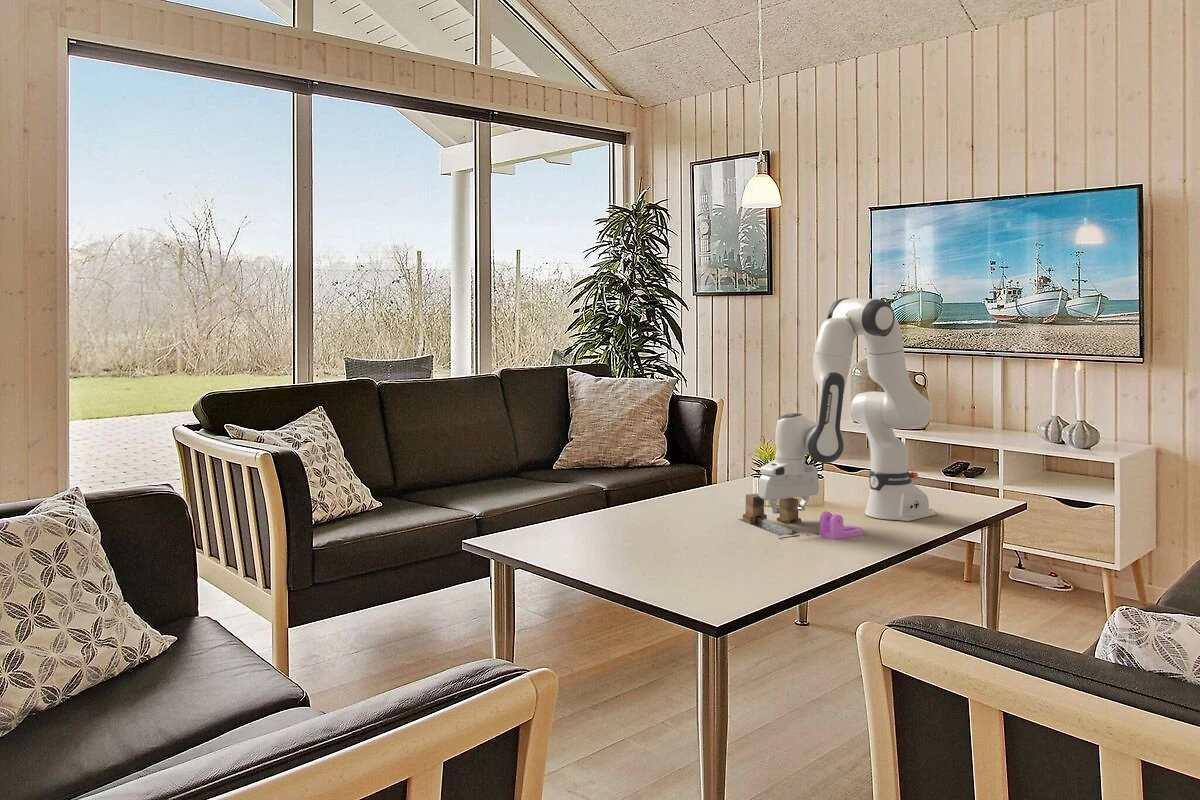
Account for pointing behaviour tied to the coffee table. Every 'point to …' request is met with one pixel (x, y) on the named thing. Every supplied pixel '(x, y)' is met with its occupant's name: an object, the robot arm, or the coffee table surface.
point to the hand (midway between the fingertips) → (788, 511)
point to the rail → (772, 527)
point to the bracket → (836, 527)
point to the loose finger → (788, 510)
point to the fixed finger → (754, 508)
